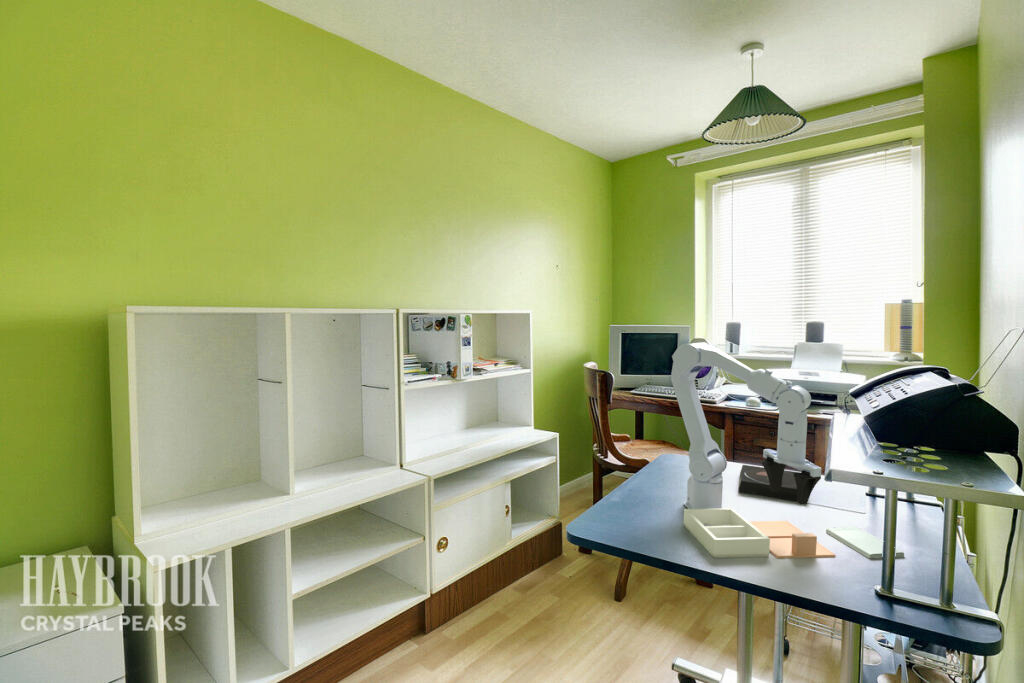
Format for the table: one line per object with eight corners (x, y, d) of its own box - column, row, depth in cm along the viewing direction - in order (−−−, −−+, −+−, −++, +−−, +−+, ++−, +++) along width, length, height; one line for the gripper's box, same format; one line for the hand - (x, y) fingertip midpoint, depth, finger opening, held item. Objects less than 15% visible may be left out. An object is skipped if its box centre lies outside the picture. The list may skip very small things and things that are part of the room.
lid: (736, 525, 121) (737, 505, 121) (786, 524, 122) (787, 505, 122) (777, 560, 105) (778, 537, 104) (835, 559, 106) (836, 536, 105)
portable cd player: (740, 476, 157) (740, 464, 156) (802, 485, 149) (802, 472, 149) (738, 494, 142) (738, 480, 142) (807, 505, 134) (808, 490, 134)
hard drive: (904, 552, 106) (857, 526, 118) (869, 554, 105) (826, 527, 117) (904, 559, 106) (857, 532, 118) (869, 561, 105) (825, 534, 117)
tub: (683, 524, 120) (684, 508, 120) (731, 523, 121) (731, 508, 121) (714, 558, 104) (714, 539, 104) (769, 556, 105) (769, 538, 105)
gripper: (753, 432, 119) (751, 487, 120) (804, 449, 105) (800, 511, 106) (777, 430, 121) (775, 484, 122) (830, 447, 107) (826, 508, 108)
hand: (788, 497), depth 114 cm, fingers open, 7 cm apart
